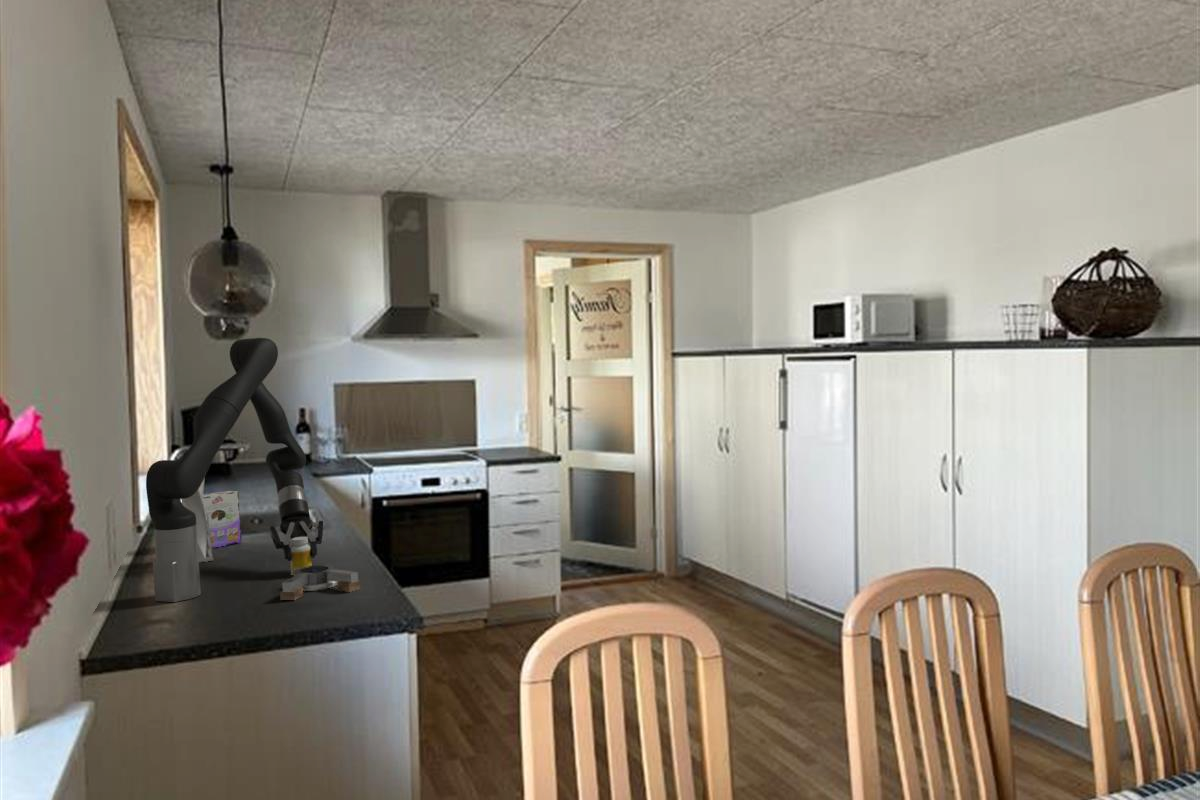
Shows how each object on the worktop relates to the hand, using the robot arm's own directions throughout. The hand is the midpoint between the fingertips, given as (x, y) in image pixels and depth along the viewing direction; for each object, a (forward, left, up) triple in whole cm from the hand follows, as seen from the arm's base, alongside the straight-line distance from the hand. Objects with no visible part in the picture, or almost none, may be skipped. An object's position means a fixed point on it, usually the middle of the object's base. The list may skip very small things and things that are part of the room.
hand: (301, 557), depth 229 cm
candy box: (+26, +52, -5) cm, 59 cm away
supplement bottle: (+1, +1, -5) cm, 5 cm away
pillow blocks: (-14, -16, -5) cm, 22 cm away
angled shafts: (-14, -16, -3) cm, 22 cm away
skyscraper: (+8, +42, -5) cm, 43 cm away
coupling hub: (-8, -10, -5) cm, 13 cm away
